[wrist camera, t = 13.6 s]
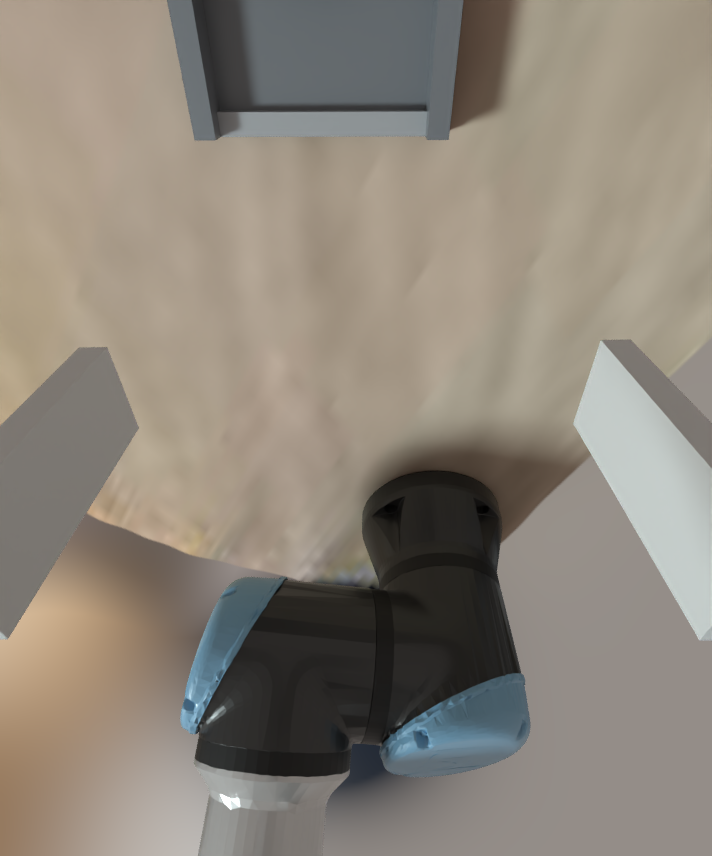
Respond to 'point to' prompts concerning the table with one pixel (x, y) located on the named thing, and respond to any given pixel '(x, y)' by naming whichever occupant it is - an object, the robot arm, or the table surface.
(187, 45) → the pusher lane
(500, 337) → the table surface
